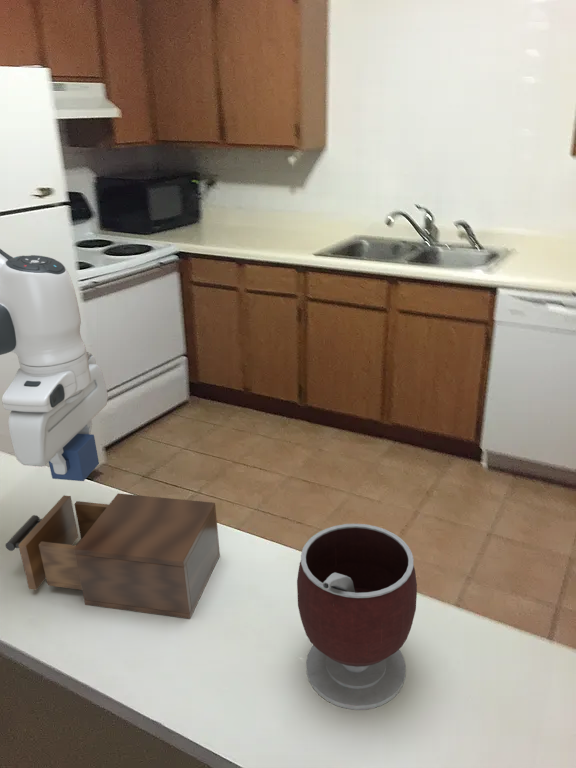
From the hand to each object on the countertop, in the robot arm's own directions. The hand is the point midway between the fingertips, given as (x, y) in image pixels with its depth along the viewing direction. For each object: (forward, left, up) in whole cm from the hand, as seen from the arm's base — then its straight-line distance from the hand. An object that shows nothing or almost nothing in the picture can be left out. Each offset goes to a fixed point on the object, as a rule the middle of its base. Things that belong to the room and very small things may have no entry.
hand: (73, 460), depth 98 cm
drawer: (0, -3, -16) cm, 17 cm away
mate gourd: (+43, -15, -18) cm, 49 cm away
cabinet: (+12, -3, -17) cm, 21 cm away
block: (0, 0, -2) cm, 2 cm away
